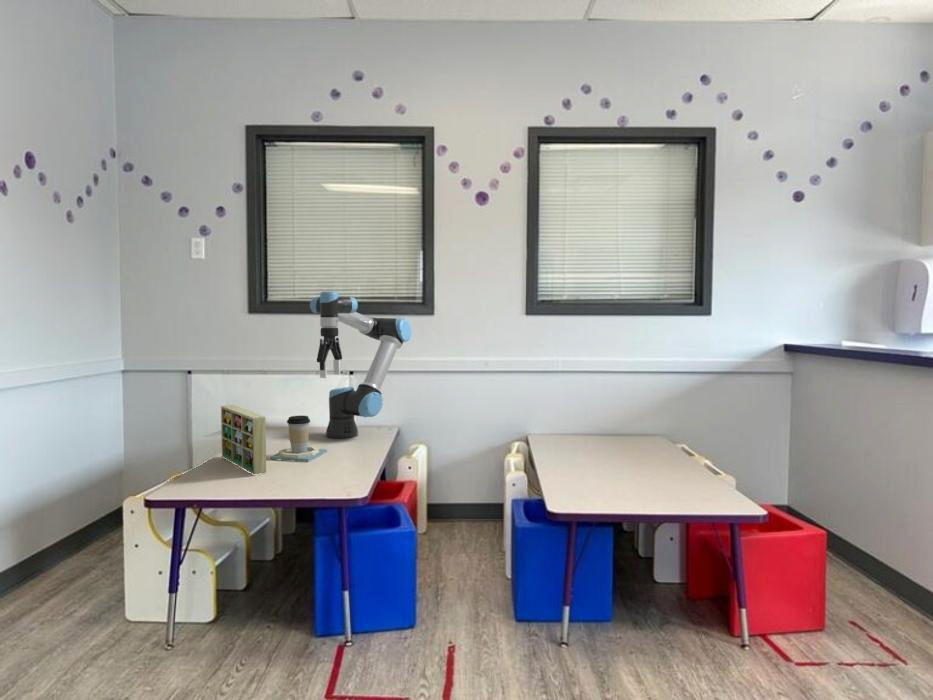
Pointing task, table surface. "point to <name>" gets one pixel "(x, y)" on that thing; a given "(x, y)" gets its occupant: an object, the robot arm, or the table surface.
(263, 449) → the beige cubby shelf
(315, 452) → the ring mat
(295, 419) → the coffee cup
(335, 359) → the robot arm
